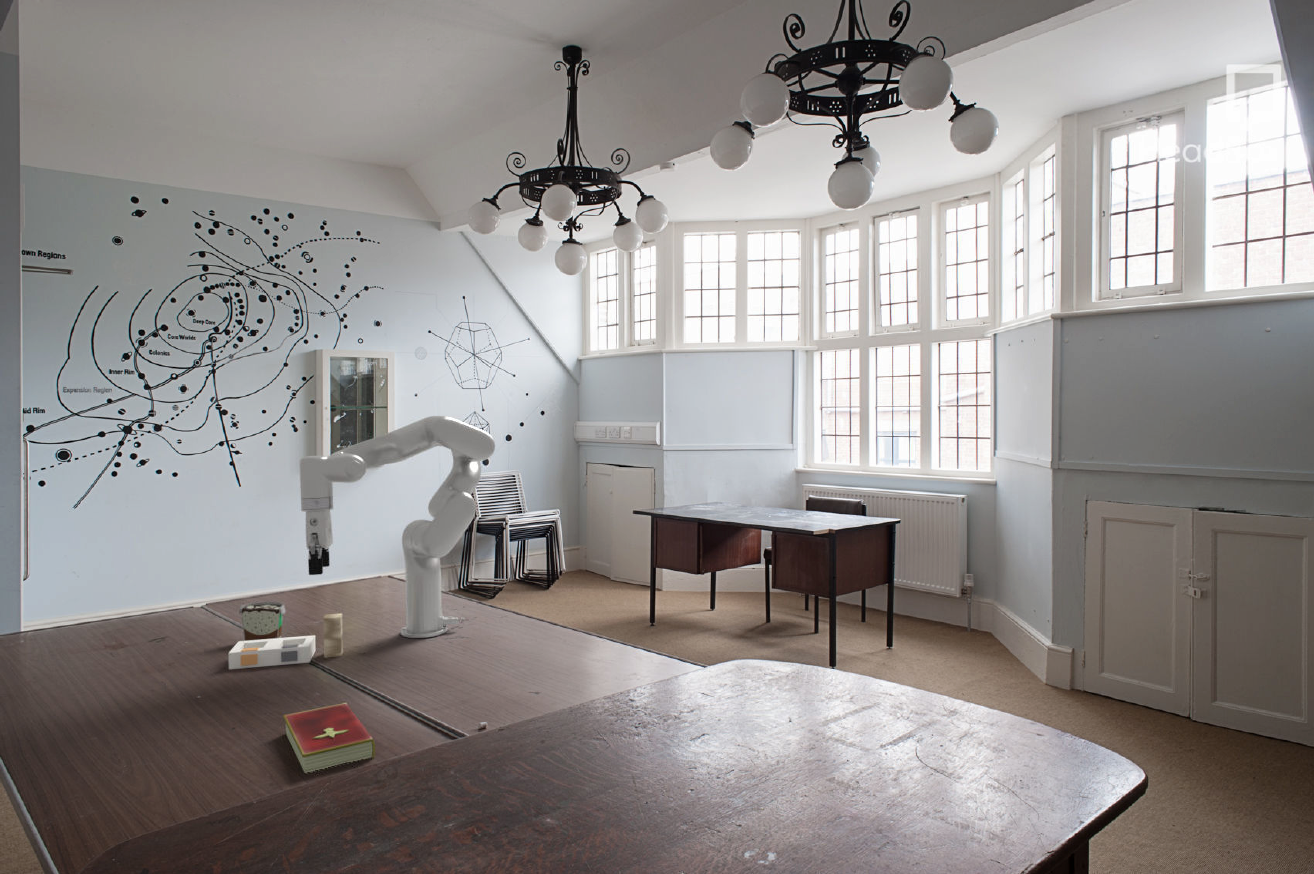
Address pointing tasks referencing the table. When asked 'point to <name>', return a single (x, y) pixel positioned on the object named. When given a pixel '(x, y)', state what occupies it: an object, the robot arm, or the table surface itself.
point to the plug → (333, 635)
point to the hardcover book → (328, 737)
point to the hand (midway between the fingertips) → (319, 570)
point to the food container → (262, 620)
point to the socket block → (272, 652)
